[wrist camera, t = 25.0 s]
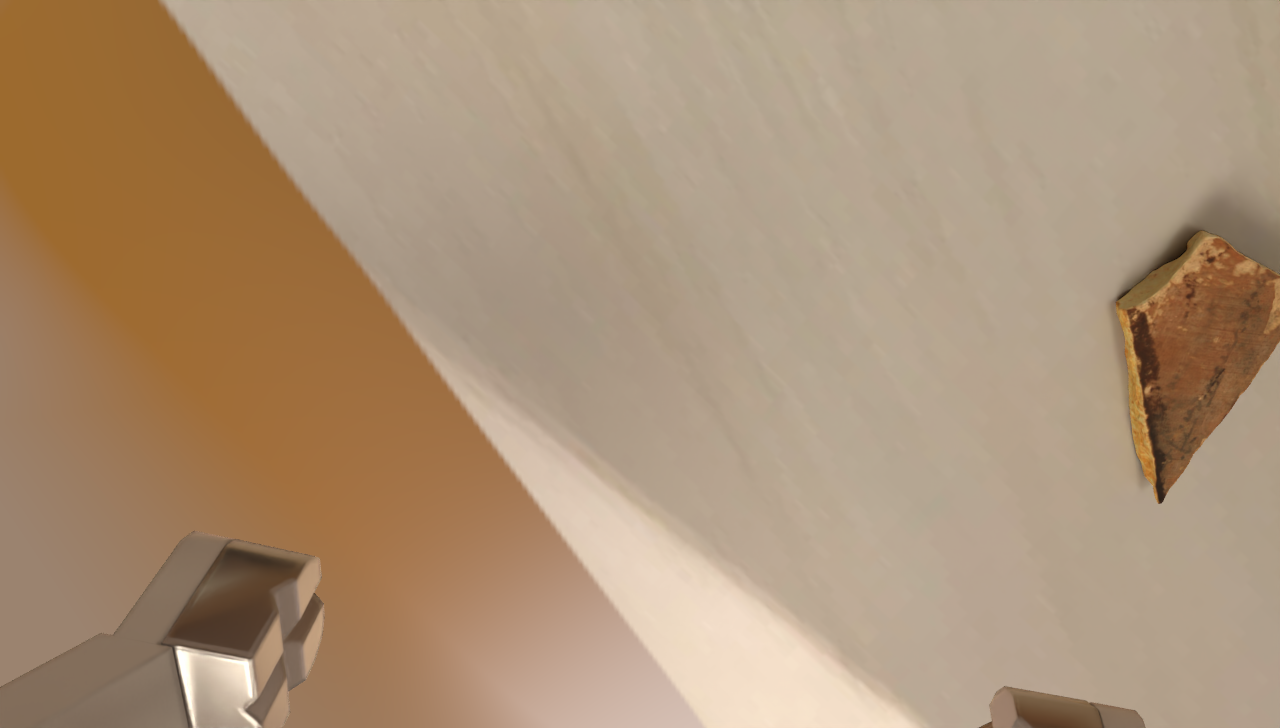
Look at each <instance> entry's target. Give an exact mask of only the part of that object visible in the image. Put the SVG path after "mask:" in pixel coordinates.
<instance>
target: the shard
mask: <svg viewBox="0 0 1280 728" xmlns="http://www.w3.org/2000/svg"><path fill="white" fill-rule="evenodd" d="M1116 309H1117V315H1118V318H1119V320H1120V323H1121V326H1122V329H1123V331H1124V337H1125V340H1126V341H1125V356H1126V359H1127V366H1128V374H1129V386H1128V390H1129V408H1130V417H1131V425H1132V435H1133V440H1134V444H1135V449H1136V454H1137V456H1138V458H1139V459H1140V461H1141V464H1142V468H1143V472H1144V475H1145V477H1146V478H1147V479H1148V481H1149V482H1150V483H1151V484H1152V485H1153V489H1154V494H1155V498H1156V500H1157V502H1158V504H1161V503H1162V502H1163V500H1164V498H1165V496H1166V494H1167V493H1168V491H1169V489H1170V488H1171V486H1172V485H1173V484H1174V483H1175V482H1176V481H1177V479H1178V478H1179V476H1180V475H1181V474H1182V473H1183V472H1184V470H1185V469H1186V467H1187V465H1188V464H1189V462H1190V460H1191V458H1192V456H1193V454H1194V453H1195V452H1196V451H1197V450H1198V448H1199V447H1200V446H1201V445H1202V444H1203V442H1204V441H1205V439H1207V438H1208V436H1209V435H1210V434H1211V433H1212V432H1213V430H1214V429H1215V428H1216V427H1217V426H1218V425H1219V424H1220V423H1221V422H1222V420H1223V419H1224V418H1225V416H1226V415H1227V414H1228V413H1229V411H1230V410H1231V409H1232V407H1233V406H1234V404H1235V402H1236V401H1237V399H1238V398H1239V396H1240V395H1241V394H1242V393H1243V392H1244V391H1245V390H1246V389H1247V388H1248V386H1249V385H1250V384H1251V382H1252V380H1253V379H1254V378H1255V376H1256V374H1257V373H1258V371H1259V370H1260V368H1261V366H1262V365H1263V364H1264V362H1265V361H1266V360H1267V359H1268V358H1269V357H1270V355H1271V354H1272V352H1273V351H1274V349H1275V347H1276V345H1277V344H1278V343H1279V341H1280V274H1278V273H1276V272H1274V271H1273V270H1271V269H1269V268H1267V267H1265V266H1263V265H1261V264H1259V263H1257V262H1255V261H1253V260H1251V259H1249V258H1247V257H1246V256H1244V255H1243V254H1241V253H1240V252H1237V251H1236V250H1235V249H1234V248H1233V247H1232V245H1231V244H1229V243H1228V242H1227V241H1225V240H1224V239H1223V238H1221V237H1219V236H1218V235H1214V234H1210V233H1208V232H1206V231H1199V232H1198V233H1196V234H1195V235H1194V236H1193V237H1192V238H1191V239H1190V240H1189V241H1188V242H1187V250H1186V252H1185V253H1184V254H1183V255H1182V256H1181V257H1179V258H1178V259H1176V260H1174V261H1171V262H1169V263H1167V264H1164V265H1163V266H1162V267H1160V268H1159V269H1157V270H1155V271H1152V272H1151V273H1150V274H1149V275H1148V276H1147V277H1146V278H1145V279H1144V280H1143V281H1142V282H1140V283H1138V284H1137V285H1136V286H1134V287H1133V288H1132V289H1131V290H1130V291H1129V292H1128V293H1127V294H1126V295H1125V296H1124V297H1122V298H1121V299H1120V300H1118V301H1117V302H1116Z"/></svg>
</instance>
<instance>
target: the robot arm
mask: <svg viewBox="0 0 1280 728" xmlns="http://www.w3.org/2000/svg"><path fill="white" fill-rule="evenodd" d="M321 578H322V576H321V568H320V560H319V558H317V557H315V556H310V555H307V554H302V553H297V552H293V551H288V550H283V549H278V548H274V547H270V546H265V545H261V544H256V543H251V542H247V541H242V540H237V539H231V538H226V537H222V536H217V535H212V534H207V533H202V532H197V531H193V532H191V533H190V534H189V535H187V536H186V537H184V538H183V539H182V540H181V541H180V542H179V543H178V545H177V546H176V548H175V549H174V551H173V552H172V553H171V555H170V556H169V558H168V559H167V560H166V562H165V563H164V564H163V566H162V567H161V569H160V570H159V571H158V573H157V574H156V576H155V577H154V578H153V580H152V581H151V583H150V584H149V585H148V587H147V588H146V590H145V591H144V592H143V594H142V595H141V597H140V598H139V599H138V601H137V602H136V604H135V605H134V607H133V608H132V609H131V611H130V612H129V613H128V615H127V616H126V618H125V619H124V620H123V622H122V623H121V625H120V626H119V628H118V629H117V631H116V632H115V633H114V635H108V634H102V633H100V634H98V635H96V636H94V637H93V638H91V639H89V640H87V641H85V642H83V643H81V644H80V645H78V646H76V647H74V648H72V649H70V650H68V651H67V652H65V653H63V654H61V655H59V656H57V657H55V658H53V659H52V660H50V661H48V662H46V663H44V664H42V665H41V666H39V667H37V668H35V669H33V670H31V671H29V672H27V673H26V674H24V675H22V676H20V677H18V678H16V679H14V680H12V681H11V682H9V683H7V684H5V685H3V686H1V687H0V728H282V727H283V725H284V723H285V721H286V719H287V717H288V715H289V713H290V706H289V696H288V691H290V690H291V689H293V688H294V687H296V686H297V685H299V684H300V683H302V682H303V681H305V680H306V678H307V676H308V674H309V672H310V670H311V668H312V665H313V663H314V661H315V658H316V655H317V652H318V649H319V645H320V641H321V638H322V634H323V625H324V603H323V602H322V601H321V600H320V599H319V597H318V596H317V595H316V594H315V593H314V592H315V590H316V588H317V586H318V584H319V582H320V580H321ZM989 707H990V713H991V718H992V721H991V722H989V723H987V724H985V725H983V726H981V727H979V728H1146V727H1145V724H1144V721H1143V719H1142V718H1141V717H1140V715H1139V714H1138V713H1137V712H1136V711H1135V710H1129V709H1124V708H1119V707H1114V706H1108V705H1103V704H1098V703H1092V702H1091V703H1089V702H1087V701H1085V700H1080V699H1074V698H1068V697H1063V696H1057V695H1052V694H1046V693H1040V692H1035V691H1029V690H1023V689H1018V688H1012V687H1006V686H1004V687H1003V688H1001V689H1000V690H998V691H997V692H996V694H995V696H994V697H993V699H992V701H991V703H990V705H989Z"/></svg>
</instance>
